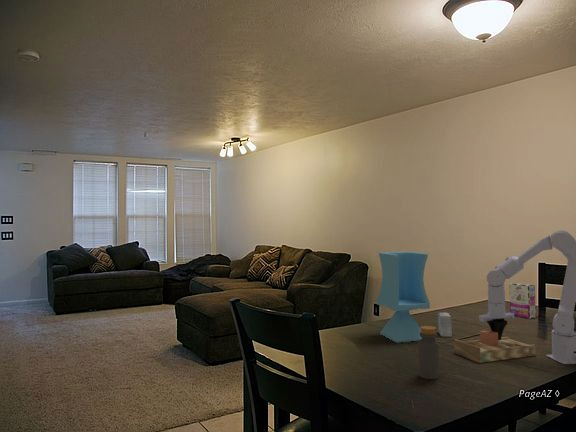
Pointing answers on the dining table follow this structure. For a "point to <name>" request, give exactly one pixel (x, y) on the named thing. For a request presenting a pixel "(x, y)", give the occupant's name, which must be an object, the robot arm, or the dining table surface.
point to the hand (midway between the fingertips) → (497, 339)
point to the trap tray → (493, 350)
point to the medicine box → (444, 324)
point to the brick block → (489, 337)
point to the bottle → (428, 353)
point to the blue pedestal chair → (402, 293)
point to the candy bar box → (522, 300)
